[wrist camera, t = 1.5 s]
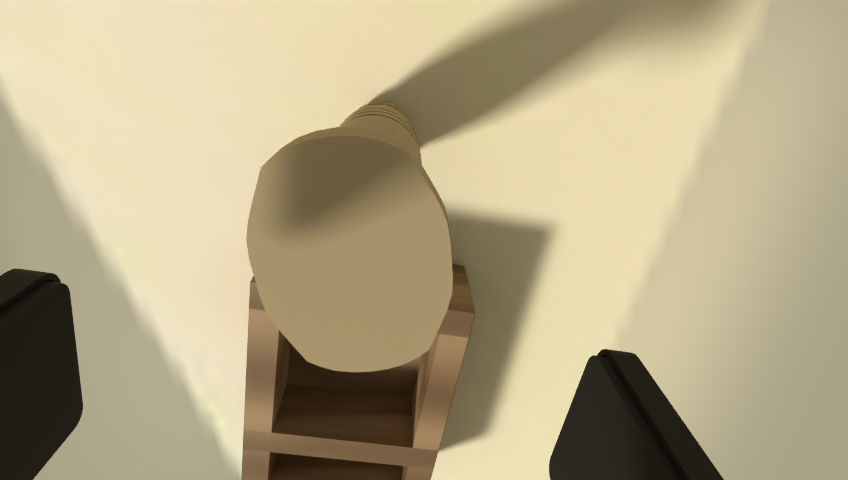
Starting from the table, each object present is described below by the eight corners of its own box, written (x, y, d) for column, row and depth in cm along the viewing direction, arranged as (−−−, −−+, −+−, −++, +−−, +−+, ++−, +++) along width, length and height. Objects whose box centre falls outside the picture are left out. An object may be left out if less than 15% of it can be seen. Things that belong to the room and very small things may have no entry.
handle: (421, 62, 24) (441, 125, 11) (432, 186, 27) (459, 363, 13) (323, 72, 24) (219, 147, 11) (344, 194, 27) (282, 380, 13)
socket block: (275, 238, 28) (250, 282, 23) (464, 266, 29) (475, 313, 24) (262, 443, 34) (240, 508, 30) (416, 459, 36) (418, 524, 31)
